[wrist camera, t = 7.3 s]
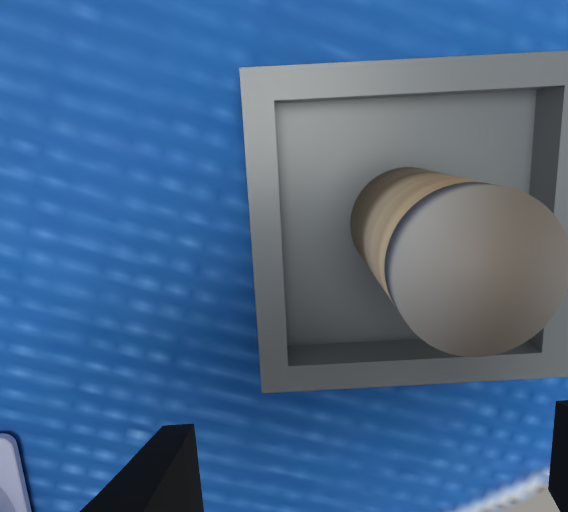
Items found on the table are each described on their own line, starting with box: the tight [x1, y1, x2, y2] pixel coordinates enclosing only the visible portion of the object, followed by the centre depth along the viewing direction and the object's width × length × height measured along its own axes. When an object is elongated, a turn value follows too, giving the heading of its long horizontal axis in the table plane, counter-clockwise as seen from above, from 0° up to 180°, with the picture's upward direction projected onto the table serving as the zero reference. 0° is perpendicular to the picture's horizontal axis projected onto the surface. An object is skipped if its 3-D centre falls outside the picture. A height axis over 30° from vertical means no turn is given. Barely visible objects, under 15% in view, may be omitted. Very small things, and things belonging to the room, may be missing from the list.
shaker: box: [350, 167, 568, 357], centre depth 14 cm, size 4×4×7 cm
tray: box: [239, 51, 568, 393], centre depth 17 cm, size 11×11×2 cm
